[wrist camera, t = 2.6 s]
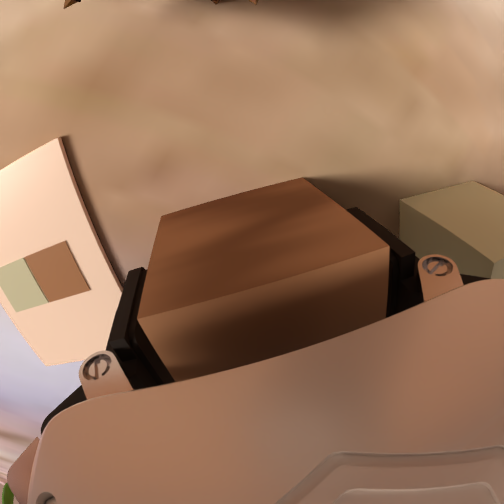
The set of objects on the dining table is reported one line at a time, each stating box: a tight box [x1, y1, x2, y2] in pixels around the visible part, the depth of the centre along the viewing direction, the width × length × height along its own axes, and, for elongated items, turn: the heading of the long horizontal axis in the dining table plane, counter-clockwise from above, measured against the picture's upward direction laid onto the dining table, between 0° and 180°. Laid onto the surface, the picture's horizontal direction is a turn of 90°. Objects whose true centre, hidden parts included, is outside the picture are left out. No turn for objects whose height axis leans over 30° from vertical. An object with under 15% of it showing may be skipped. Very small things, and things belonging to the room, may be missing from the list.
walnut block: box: [137, 178, 390, 382], centre depth 10 cm, size 6×6×6 cm
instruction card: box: [0, 137, 123, 366], centre depth 11 cm, size 7×10×1 cm
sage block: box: [399, 181, 504, 279], centre depth 11 cm, size 6×6×6 cm
